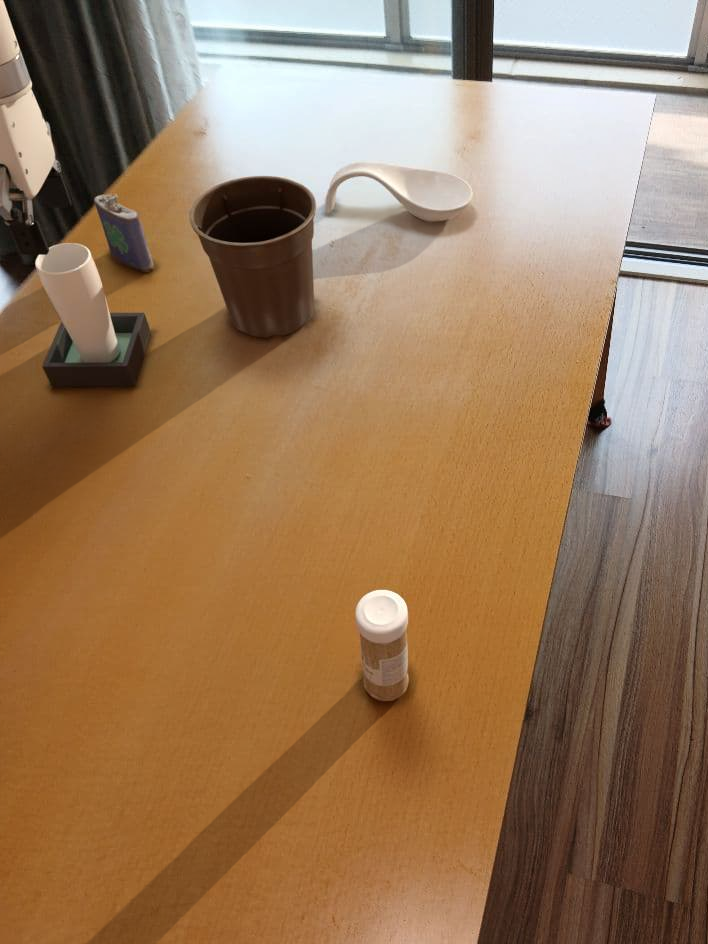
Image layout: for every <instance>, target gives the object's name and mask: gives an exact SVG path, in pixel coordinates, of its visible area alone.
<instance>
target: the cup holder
mask: <svg viewBox="0 0 708 944" xmlns="http://www.w3.org/2000/svg"><path fill="white" fill-rule="evenodd" d="M110 316H111V320H112V324H113V327H114V331H115V335H116V338H117V341H118V343H119V346H120V352H119V355H118V356H117V358H116V359H115V360H113V361H112V362H93V363H85V362H83V361H82V359H81V358H80V356H79V354H78V351H77V349H76V347H75V345H74V343H73V341H72V339H71V338H70V336H69V334H68V332H67V330H66V328H65V326H64V325H63V323H62V321H61V320H60V323H59V326H58V328H57V331H56V333H55V335H54V337H53V341H52V343H51V344H50V347H49V349H48V352H47V354H46V357H45V358H44V361H43V364H42V366H41V367H42V370H43V372H44V373H45V376H46V378H47V380H48V382H49V385H50V387H51V388H91V387H92V388H93V387H96V388H101V387H102V388H104V387H105V388H108V387H109V388H110V387H111V388H112V387H114V388H115V387H117V388H118V387H122V388H123V387H125V388H126V387H135V386H136V383H137V380H138V376H139V374H140V371H141V367H142V364H143V361H144V358H145V355H146V354H145V353H146V351H147V347H148V344H149V341H150V338H151V335H152V331H151V329H150V325H149V321H148V319H147V317H146V313H145V312H110Z"/></svg>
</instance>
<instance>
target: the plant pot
mask: <svg viewBox="0 0 708 944" xmlns="http://www.w3.org/2000/svg"><path fill="white" fill-rule="evenodd" d="M316 211H317V200H316V197H315V195H314V193H313V192H312V191H311V190H310V189H309V188H308V187H306V186H305V185H303V184H302V183H299V182H297V181H294V180H292V179H289V178H285V177H280V176H275V175H274V176H273V175H252V176H244V177H238V178H234V179H231V180H227V181H224V182H221V183H219V184H216V185H215V186H213V187H210V188H209V189H207V190H206V191H204V192H203V193H202V194H201V195H199V196H198V197H197V198H196V200H195V201H194V202H193V204H192V205H191V207H190V210H189V213H188V219H189V223H190V226H191V228H192V230H193V232H194V233H195V234H196V235H197V236H198V239H199V241H200V244H201V246H202V249H203V251H204V253H205V254H206V256H208V259H209V262H210V265H211V267H212V271H213V274H214V276H215V278H216V281H217V284H218V286H219V290H220V293H221V295H222V298H223V301H224V305H225V307H226V310H227V312H228V315H229V319H230V322H231V323H232V325H233V326H234V327H235V328H236V329H237V330H238V331H240V332H242V333H243V334H245V335H249V336H250V337H251V336H252V337H255V338H263V339H268V338H270V337H272V336H274V335H279V336H283V337H284V336H286V335H290V334H292V333H294V332H296V331H299V330H300V329H302V327H304V326H305V325H307V324H308V322H310V320H311V319H312V317H313V316H314V314H315V306H316V305H315V304H316V303H315V284H314V282H315V281H314V262H313V238H314V235H315V227H314V217H315V215H316Z"/></svg>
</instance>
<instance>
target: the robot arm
mask: <svg viewBox="0 0 708 944" xmlns="http://www.w3.org/2000/svg"><path fill="white" fill-rule="evenodd" d="M32 87H33V82H32V79H31V77H30V73H29V71H28V67H27V65H26V63H25V59H24V56H23V54H22V50H21V48H20V45H19V42H18V39H17V36H16V34H15V30H14V28H13V25H12V21H11V19H10V16H9V13H8V10H7V7H6V4H5V1H4V0H0V220H2V221H3V222H4V224H5V225H6V226H8V228H9V229H10V232H11V235H12V236H13V239H14V241H15V244H16V246H17V249H18V251H19V253H20V254H22V255H24V256H25V255H26V256H27V255H29V256H31V255H33V256H35V255H36V256H38V255H47V254H48V252H49V245H48V242H47V240H46V238H45V234H44V233H43V230H42V228H41V225H40V222H39V220H38V219H34V210H33V209H34V208H33V199H34V198H35V197H36V196H37V195H38V194H39V195H40V198H41V200H42V203H43V205H44V207H45V208H48V209H49V208H51V209H52V208H53V209H54V208H55V209H56V208H57V209H63V208H64V209H69V208H71V206H72V205H73V204H72V203H73V202H72V200H71V197H70V194H69V190H68V189H67V185H66V183H65V179H64V177H63V174H62V173H61V172H62V167H61V163H60V161H58V160H57V159H56V150H57V148H56V144H54V142H53V139H52V132H51V126H50V123H49V122H48V121H45V118H44V116H43V113H42V111H41V108H40V106H39V103H38V101H37V99H36V96H35V94H34V92H33V90H32ZM11 189H18V190H19V191H21V192H11V191H10V190H11ZM20 201H21V202H22V210H21V209H19V208H16V207H13V202H20Z"/></svg>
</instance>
